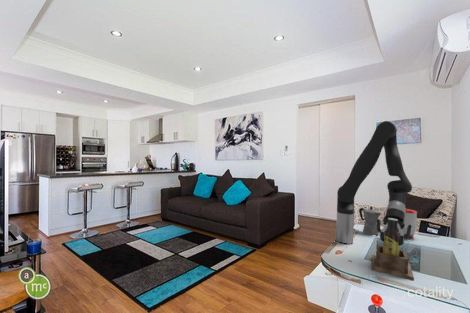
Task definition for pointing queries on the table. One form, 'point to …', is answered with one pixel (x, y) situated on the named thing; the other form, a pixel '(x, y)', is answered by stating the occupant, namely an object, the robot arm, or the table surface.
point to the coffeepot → (370, 220)
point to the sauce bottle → (391, 238)
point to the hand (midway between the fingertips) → (391, 242)
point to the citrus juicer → (410, 221)
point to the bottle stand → (392, 263)
